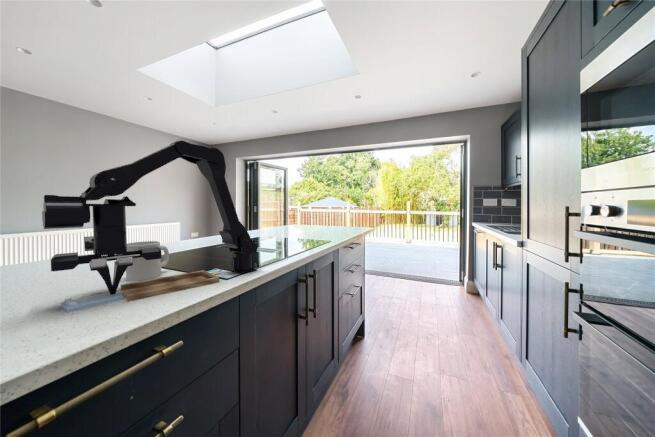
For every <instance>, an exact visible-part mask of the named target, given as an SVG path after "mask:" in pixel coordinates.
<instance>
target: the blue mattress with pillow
mask: <svg viewBox="0 0 655 437" xmlns="http://www.w3.org/2000/svg"><path fill="white" fill-rule="evenodd" d="M120 300H124V294H121V293H119V292H117V291H116V293H115V294H112V295H111V294H110V292H109V291H108V292H103V293H100V294H99V293H98V294H94V295H90V296H86V297H85V296H84V297H80V298H76V299H73V298H65V299H64V301H61V302H60V307H61V309H63V310H64V311H66V313H68V314H69V313H73V312H76V311H81V310H83V309H89V308H93V307H97V306H100V305H104V304H108V303H109V304H110V303H113V302H117V301H120Z"/></svg>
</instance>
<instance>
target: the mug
mask: <svg viewBox="0 0 655 437" xmlns="http://www.w3.org/2000/svg"><path fill="white" fill-rule="evenodd" d="M143 246H157V247H159V248H160V249H161V251H163V253H164V254H163V255H164V259H163V261H162V260H161V259H162V257H161V258H160V259H153V260H146V259H144V258H143V257H139V258H132V260H131V262H132V263H133V265H132V266H128V267H127V269H126V271H125V281H126V282H131V283H132V282H138V281H144V280H150V279H156V278H161V276H162V268H163V267H166V266H167V265H168V263H169V259H170V252H169V249H168V247H167V246H165V245H161V242H160V241H157V240H155V241H154V240H152V241H151V240H149V241H148V240H147V241H137V242H129V243H127V251H134V250H138V247H143Z"/></svg>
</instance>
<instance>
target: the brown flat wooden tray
mask: <svg viewBox="0 0 655 437" xmlns="http://www.w3.org/2000/svg"><path fill="white" fill-rule="evenodd" d="M218 283H220V277H219V276H216V275H214V274H212V273H210V272H208V271H206V270H205V269H204V270H197V271H191V272H185V273H180V274H174V275H168V276H167V275H166V276H163V277H161V276H160V277H158V278H155V279H150V280H144V281H134V282H132V281H131V282H127V283H121V284H120V291H121V292H122V295H123V297H124V299H125V300H126V301H127V302H133V301H138V300H143V299H149V298H152V297H157V296H163V295H166V294H171V293H174V292H176V293H177V292H181V291H184V290H188V289H194V288H199V287H204V286H208V285H212V284H218Z"/></svg>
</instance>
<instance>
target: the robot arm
mask: <svg viewBox="0 0 655 437" xmlns="http://www.w3.org/2000/svg"><path fill="white" fill-rule="evenodd" d="M177 159H182V160H184V161H187V163H191V164H195V165H196V166H197V168H198V170H199V172H200V173H201V175H202V176H203V177H205V179H206V180H207V181H208V184H209V186H210V188H211V189H210V190H211V191H212V195H213V198H214V200H215V203H216V206H217V209H218V211H219V214H220V218H221V220H222V224H223V226H222V230H219V232H218V233H219V235H220V237H221V240H222V241H221V242H222V244H225V247H227V248H228V250H229V252H231V257H230V269H229V270H230V271H232V272H233V271H234V273H236V274H243V273H248V272H254V271H257V268H256V267H255V254H256V253H257V251H258V247H259V246H258V245H257V244H256V243H255V242H254V241H253V240H252V239H251V236H250V234H249V231H248V230H247V228H246V227H245V226H244V224H243V223H242V222H241V221H240V219H239V217H238V214H237V210H236V207H235V204H234V201H233V198H232V195H231V192H230V190H229V186H228V184H227V180H226V170H227V169H226V168H227V166H226V165H227V164H226V159H225V155H224V153H223V152H222V150H220V149H219V148H216V147H207V146H204V145H199V144H194V143H191V142H188V141H186V140H182V139H178V140H176V141H173V142H171V143H170V144H169V145H167V146H165V147H162V148H161V149H159V150H156V151H154V152H152V153H150V154H148V155H146V156H144V157H142V158H139V159H137V160H135V161H132V162H131V163H128V164H123V165H119V166H116V167H113V168H108V169H105V170H102V171H100V172H97V173H95V174H93V175H92V176H91V177H90V178H89V182H88V183H89V186H88V187H87V188H86V189H85V190H84V191H83V192H81V193H80V195H79V196H71V195H70V196H69V195H67V196H65V195H55V194H45V195H43V204H42V205H43V207H42V209H43V210H42V211H41V215H42V216H41V218H42V227H43V230H56V229H76V228H77V229H79V228H80V229H81V228H83V227H84V224H87V223H88V224H89V223H90V222H91V207H92V229H93V231H92V232H93V235H92V236H84V237H83V241H84V242H83V244H84V251H85V252H91V251H92V252H93V254H92V253H91V254H85V255H79V252H78V251H77V252H76V251H74V252H68V253H67V252H65V253H55V254H54V255H53V256H52V257H51V259H50V271H51V272H61V271H68V270H70V271H71V270H74V269H75V268H77V267H78V266H79V265H85V264H86V265H87V264H89V269H90V271H91V272H94V271H95V272H98V274H99V276H100V277H101V278H102V279H103V281H104V283H105V285H106V288H107V289H108V292H110V294H111V295H112V294H115V293H116V292H117V290H118V288H119V285H120V282H121V280H122V278H123V276H124V274H125V273H126V269H127V267H128V266H132V265H133V263H132V262H131V260H132V258H139V257H143V258H144V259H146V260H153V259H160V258H161V259H162V250H161V249H160V248H159V247H157V246H143V247H138V250H134V251H127V244H128V243H127V241H128V240H127V221H126V220H127V218H126V217H127V216H126V215H127V214H126V207H136V206H137V203H136V202H134V201H133V200H132V199H131V198H129V196H123V197H122V198H121V199H119V198H117V199H116V198H115V199H114V198H109V197H117V196H120V195H122V194H124V193H125V192H126V191H128V190H129V189H131V187H133V186H134V185H135V184H136V183H138V181H139V180H141V179H142V178H143V177H145V176H146V175H149V174H151V173H152V172H154V171H156V170H158V169H160V168H161V167H163V166H166V165H168V164H169V163H171V162H173V161H175V160H177ZM106 197H108V198H106ZM103 198H106V199H104V201H103V203H87V202H88V201H90V202H92V201H99V200H102V199H103ZM111 261H114V262H113V263H114V265H113V266H114V267H113V276H112V277H111V273H110V268H109V265H108V262H111ZM111 278H112V279H111Z"/></svg>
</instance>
